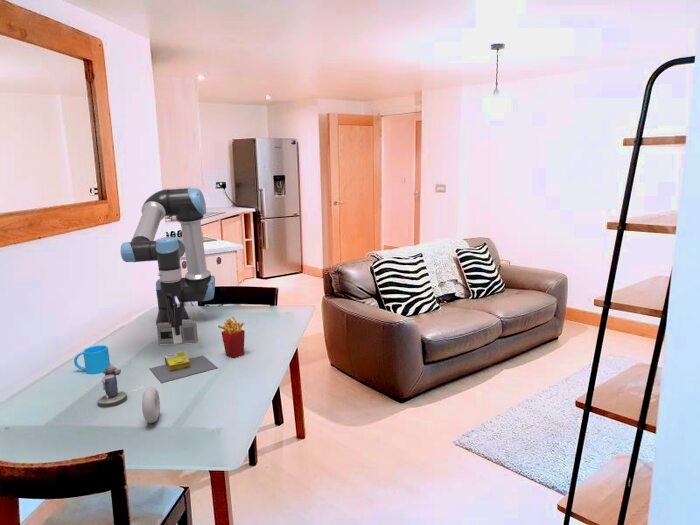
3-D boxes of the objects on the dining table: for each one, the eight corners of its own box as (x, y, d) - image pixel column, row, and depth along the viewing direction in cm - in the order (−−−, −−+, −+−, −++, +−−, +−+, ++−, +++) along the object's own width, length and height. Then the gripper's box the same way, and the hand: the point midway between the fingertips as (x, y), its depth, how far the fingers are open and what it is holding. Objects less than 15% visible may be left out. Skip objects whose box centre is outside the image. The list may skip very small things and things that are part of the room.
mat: (149, 369, 183) (149, 368, 183) (203, 355, 194) (203, 355, 194) (161, 383, 170) (161, 382, 170) (217, 368, 181) (217, 367, 181)
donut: (150, 413, 148) (146, 382, 146) (162, 412, 149) (158, 381, 147) (143, 430, 139) (139, 397, 137) (156, 428, 139) (152, 395, 137)
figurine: (121, 393, 163) (117, 358, 161) (131, 401, 157) (126, 365, 155) (94, 401, 158) (89, 366, 156) (102, 410, 152) (97, 373, 150)
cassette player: (158, 345, 208) (156, 322, 206) (160, 343, 211) (158, 320, 209) (196, 343, 209) (194, 320, 207) (198, 341, 212) (195, 318, 210)
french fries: (247, 354, 193) (244, 317, 190) (229, 361, 187) (225, 323, 185) (234, 349, 199) (231, 313, 196) (216, 356, 193) (212, 318, 191)
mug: (113, 364, 189) (110, 344, 187) (106, 373, 181) (103, 351, 179) (79, 368, 187) (76, 347, 185) (71, 376, 179) (68, 355, 177)
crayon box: (165, 362, 188) (169, 372, 178) (164, 355, 187) (168, 365, 177) (185, 358, 191) (190, 368, 181) (184, 351, 191) (190, 360, 180)
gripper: (155, 279, 182) (162, 340, 187) (165, 285, 172) (172, 350, 176) (176, 276, 187) (182, 335, 191) (187, 281, 176) (193, 345, 181)
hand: (177, 342), depth 184 cm, fingers closed
